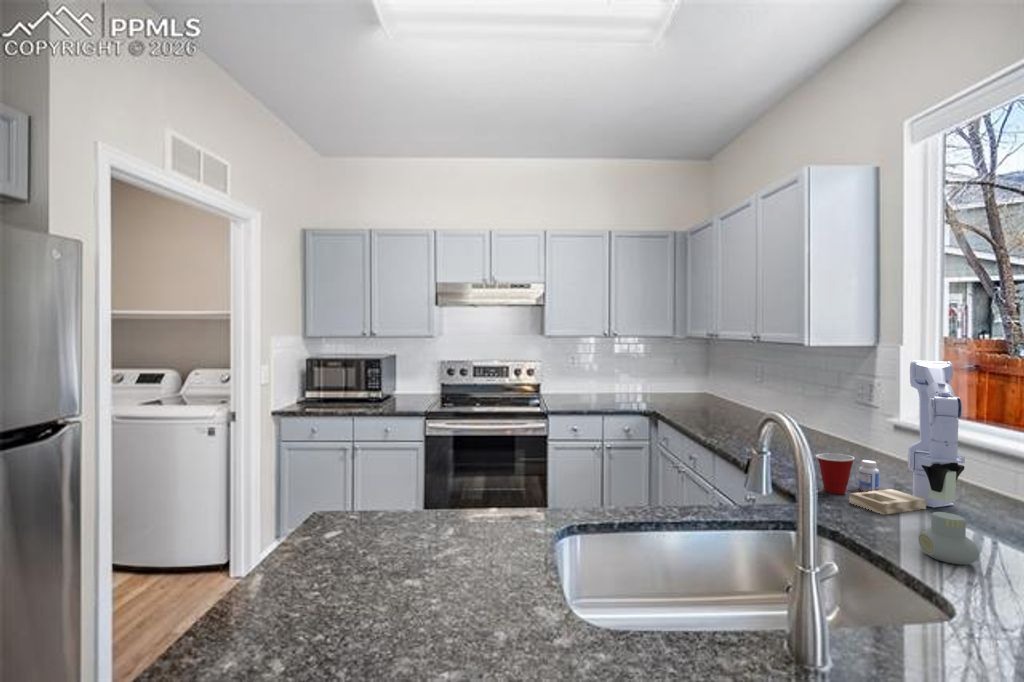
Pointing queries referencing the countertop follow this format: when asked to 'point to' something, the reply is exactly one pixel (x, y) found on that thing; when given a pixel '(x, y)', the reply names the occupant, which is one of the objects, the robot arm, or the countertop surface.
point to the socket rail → (887, 501)
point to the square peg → (945, 489)
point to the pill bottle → (868, 476)
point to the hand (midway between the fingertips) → (942, 490)
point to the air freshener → (948, 540)
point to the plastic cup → (835, 471)
